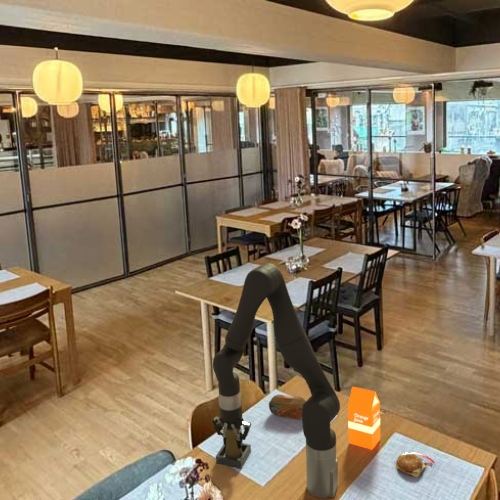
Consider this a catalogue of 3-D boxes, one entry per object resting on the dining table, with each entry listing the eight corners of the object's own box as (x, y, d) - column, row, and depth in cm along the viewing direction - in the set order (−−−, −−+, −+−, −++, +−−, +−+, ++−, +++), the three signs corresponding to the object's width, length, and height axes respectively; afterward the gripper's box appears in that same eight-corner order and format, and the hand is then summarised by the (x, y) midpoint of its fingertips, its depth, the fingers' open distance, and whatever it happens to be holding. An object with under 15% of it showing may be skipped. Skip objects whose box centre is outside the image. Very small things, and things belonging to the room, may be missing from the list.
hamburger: (427, 488, 170) (427, 473, 168) (385, 470, 179) (386, 455, 177) (444, 464, 180) (445, 449, 178) (404, 447, 189) (405, 433, 187)
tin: (269, 415, 210) (268, 396, 208) (271, 411, 213) (270, 392, 211) (307, 420, 206) (307, 401, 204) (309, 416, 209) (308, 396, 206)
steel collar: (251, 452, 190) (250, 444, 189) (241, 469, 182) (240, 461, 181) (226, 447, 194) (226, 439, 193) (216, 463, 185) (215, 456, 184)
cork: (243, 448, 190) (241, 421, 187) (241, 460, 184) (239, 432, 181) (226, 448, 191) (224, 421, 187) (223, 460, 185) (221, 432, 182)
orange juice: (357, 432, 199) (356, 382, 194) (380, 439, 194) (380, 387, 189) (348, 443, 192) (347, 391, 188) (372, 450, 187) (371, 396, 183)
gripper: (206, 405, 181) (209, 449, 186) (246, 412, 175) (248, 457, 181) (215, 393, 187) (218, 436, 192) (254, 400, 182) (256, 443, 187)
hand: (233, 446), depth 186 cm, fingers closed on cork, 4 cm apart
